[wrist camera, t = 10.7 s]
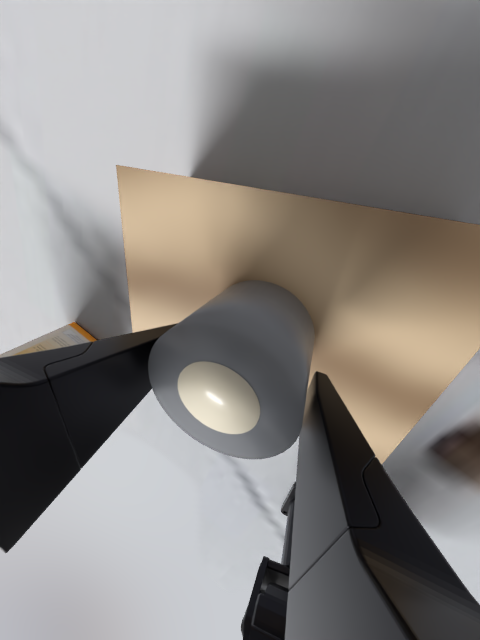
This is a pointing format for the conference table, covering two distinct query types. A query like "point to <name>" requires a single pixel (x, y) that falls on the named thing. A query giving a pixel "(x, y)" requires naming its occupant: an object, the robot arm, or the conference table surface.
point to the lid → (316, 283)
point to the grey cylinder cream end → (238, 370)
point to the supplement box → (54, 340)
